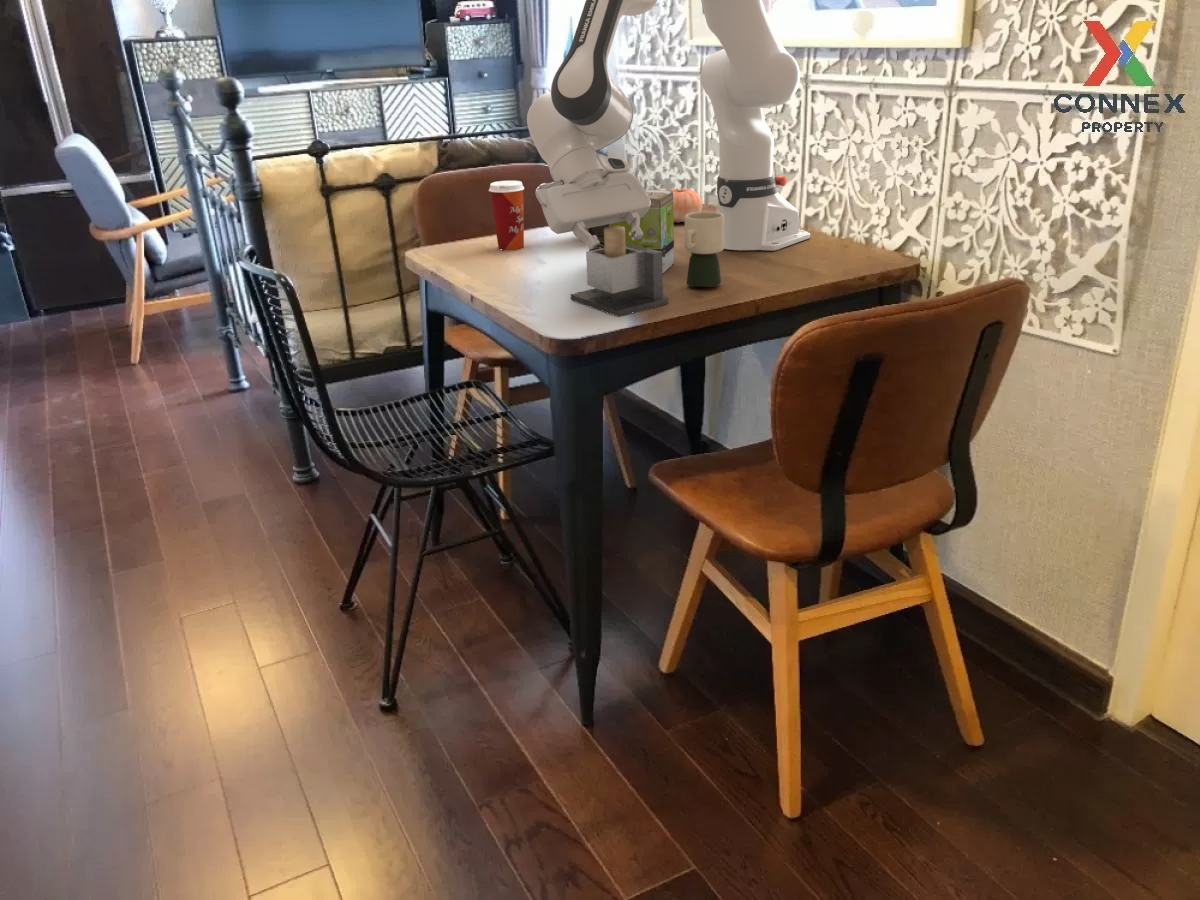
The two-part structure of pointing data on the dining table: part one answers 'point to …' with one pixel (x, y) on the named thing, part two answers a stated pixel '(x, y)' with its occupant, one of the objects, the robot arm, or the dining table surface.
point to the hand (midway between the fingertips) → (617, 242)
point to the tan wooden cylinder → (614, 241)
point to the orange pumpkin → (685, 203)
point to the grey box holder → (623, 280)
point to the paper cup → (508, 213)
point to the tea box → (650, 227)
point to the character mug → (704, 247)
